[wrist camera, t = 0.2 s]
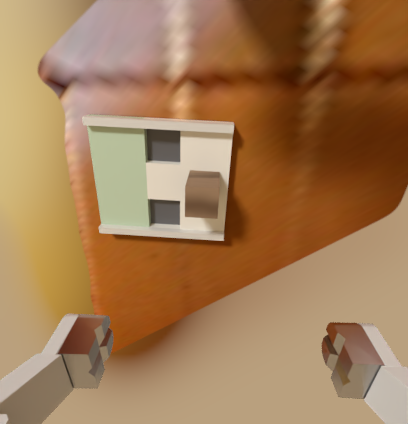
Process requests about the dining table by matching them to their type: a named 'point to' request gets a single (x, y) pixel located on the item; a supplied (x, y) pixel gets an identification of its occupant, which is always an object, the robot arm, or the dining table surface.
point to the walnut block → (202, 194)
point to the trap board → (156, 173)
